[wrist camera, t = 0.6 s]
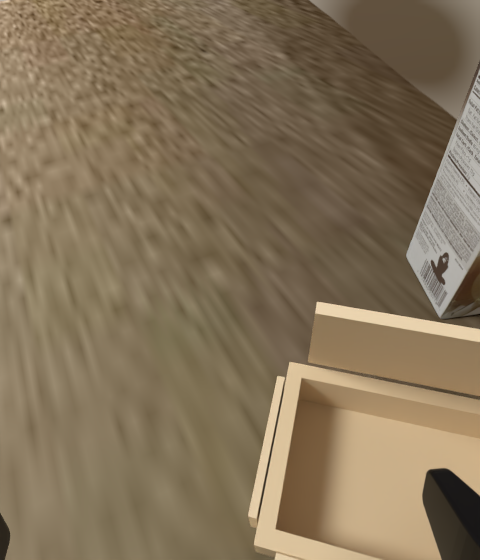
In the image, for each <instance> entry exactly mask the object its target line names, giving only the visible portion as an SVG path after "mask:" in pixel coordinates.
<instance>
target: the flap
mask: <svg viewBox="0 0 480 560" xmlns="http://www.w3.org/2000/svg"><path fill="white" fill-rule="evenodd" d="M308 362H310V363H315V364H320V365H325V366H330V367H335V368H340V369H345V370H350V371H355V372H360V373H365V374H370V375H375V376H380V377H385V378H390V379H395V380H400V381H405V382H410V383H415V384H420V385H425V386H430V387H435V388H440V389H445V390H450V391H455V392H460V393H465V394H470V395H475V396H480V329H475V328H469V327H463V326H457V325H451V324H445V323H439V322H433V321H428V320H422V319H416V318H410V317H404V316H398V315H392V314H386V313H380V312H375V311H369V310H363V309H357V308H351V307H345V306H339V305H333V304H327V303H322V302H317V306H316V312H315V318H314V325H313V331H312V338H311V344H310V351H309V358H308Z"/></svg>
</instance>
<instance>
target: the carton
mask: <svg viewBox="0 0 480 560" xmlns="http://www.w3.org/2000/svg"><path fill="white" fill-rule="evenodd" d="M284 381H285V378H284V377H280V376H278V377H277V381H276V386H275V391H274V396H273V400H272V405H271V410H270V414H269V419H268V424H267V429H266V433H265V438H264V443H263V448H262V452H261V457H260V462H259V467H258V471H257V476H256V481H255V486H254V490H253V495H252V500H251V504H250V509H249V514H248V518H249V522H250V526H251V527H255V528H257V531H256V536H255V541H254V547H255V551H256V552H257V553H260V554H264V555H267V556H270V557H274V558H275V560H442V559H441V556H440V553H439V550H438V547H437V544H436V541H435V538H434V535H433V532H432V529H431V526H430V523H429V520H428V517H427V514H426V511H425V508H424V505H423V500H422V492H423V487H424V482H425V477H426V473H427V471H428V470H429V469H438V468H447V469H449V470H451V471H452V472H453V473H455V474H456V475H457V476H458V477H459V478H460V479H461V480H463V481H464V482H465V483H466V484H467V485H468V486H469V487H470V488H472V489H473V490H474V491H475V492H476V493H477V494H478V495H480V400H477V399H472V398H467V397H462V396H457V395H452V394H447V393H442V392H437V391H432V390H427V389H422V388H418V387H413V386H408V385H403V384H398V383H393V382H388V381H383V380H378V379H373V378H368V377H363V376H358V375H353V374H348V373H343V372H338V371H333V370H328V369H323V368H318V367H313V366H308V365H303V364H298V363H293V362H290V363H289V368H288V373H287V378H286V383H285V388H284Z"/></svg>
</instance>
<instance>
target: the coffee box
mask: <svg viewBox="0 0 480 560" xmlns="http://www.w3.org/2000/svg"><path fill="white" fill-rule="evenodd" d="M406 256H407V259H408V261H409V263H410V265H411V266H412V268H413V270H414V272H415V274H416V276H417V277H418V279H419V281H420V283H421V285H422V287H423V288H424V290H425V292H426V294H427V296H428V297H429V299H430V301H431V303H432V305H433V307H434V308H435V310H436V312H437V314H438V316H439V317H440V318H441V319H448V318H455V317H462V316H468V315H475V314H480V62H479V64H478V67H477V70H476V72H475V75H474V78H473V80H472V83H471V86H470V88H469V91H468V93H467V96H466V99H465V101H464V104H463V106H462V109H461V112H460V114H459V117H458V120H457V122H456V125H455V128H454V130H453V133H452V136H451V138H450V141H449V144H448V146H447V149H446V152H445V154H444V157H443V159H442V162H441V165H440V167H439V170H438V173H437V175H436V178H435V181H434V183H433V186H432V188H431V191H430V194H429V196H428V199H427V201H426V204H425V207H424V210H423V212H422V215H421V217H420V220H419V222H418V225H417V228H416V231H415V233H414V236H413V239H412V241H411V243H410V246H409V249H408V251H407V254H406Z"/></svg>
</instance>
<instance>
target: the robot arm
mask: <svg viewBox="0 0 480 560" xmlns="http://www.w3.org/2000/svg"><path fill="white" fill-rule="evenodd" d="M422 500H423V505H424V508H425V511H426V514H427V517H428V520H429V523H430V526H431V529H432V532H433V535H434V538H435V541H436V544H437V547H438V550H439V553H440V556H441V559H442V560H480V495H478V494H477V493H476V492H475V491H474V490H473V489H472V488H470V487H469V486H468V485H467V484H466V483H465V482H464V481H463V480H461V479H460V478H459V477H458V476H457V475H456V474H455V473H453V472H452V471H451V470H449V469H447V468H438V469H429V470H428V471H427V473H426V477H425V482H424V487H423V492H422ZM9 541H10V531H9V528H8V526H7V524H6V523H5V521H4V519H3V517H2V515H1V514H0V560H5V556H6V553H7V549H8V545H9Z"/></svg>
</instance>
